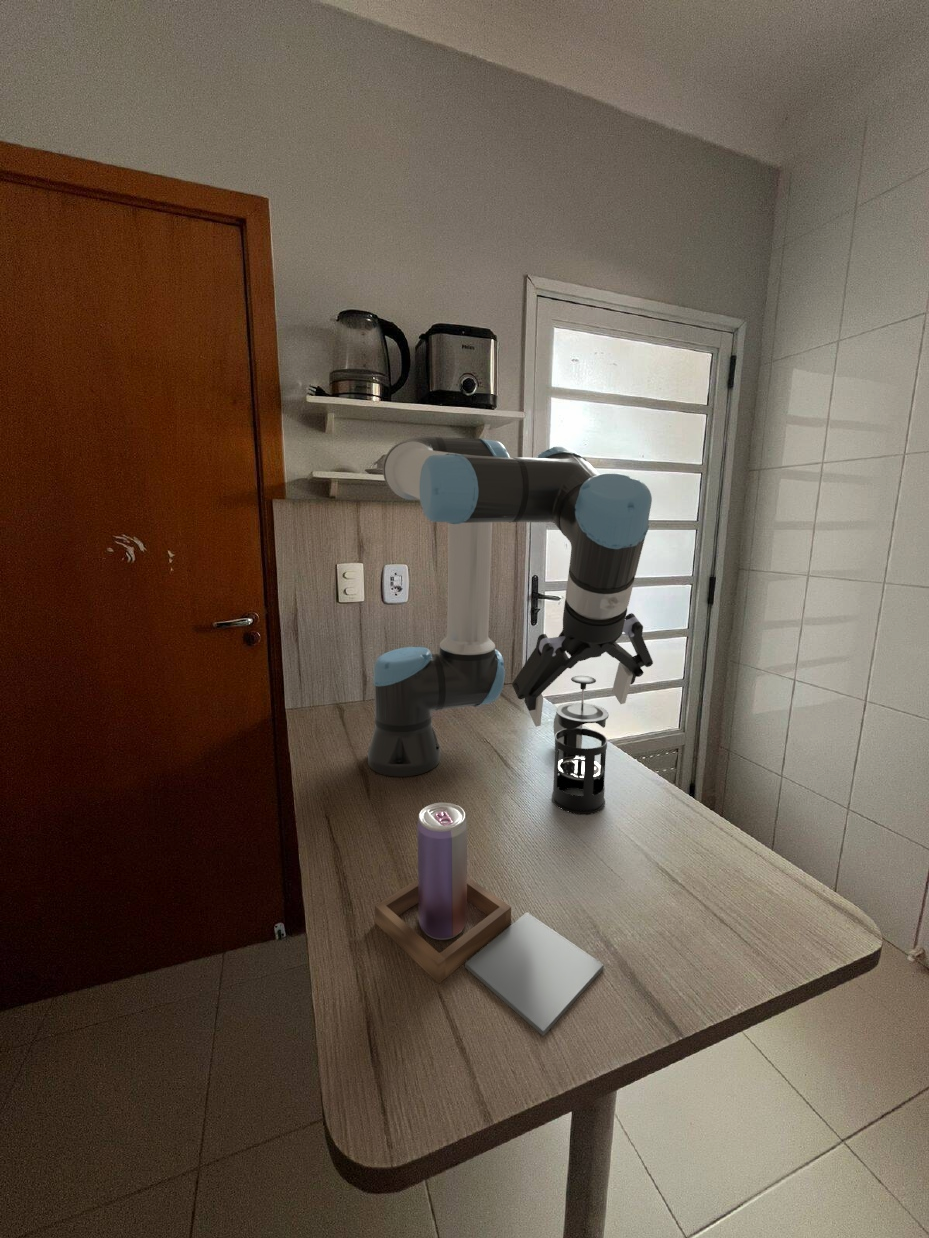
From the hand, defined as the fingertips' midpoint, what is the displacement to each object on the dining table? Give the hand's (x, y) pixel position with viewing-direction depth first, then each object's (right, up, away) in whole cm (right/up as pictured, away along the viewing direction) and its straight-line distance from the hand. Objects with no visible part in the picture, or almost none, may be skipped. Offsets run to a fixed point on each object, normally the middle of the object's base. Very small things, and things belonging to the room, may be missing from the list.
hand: (577, 707), depth 77 cm
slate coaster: (-9, -26, -19) cm, 34 cm away
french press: (+3, -19, +16) cm, 25 cm away
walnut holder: (-20, -25, -13) cm, 34 cm away
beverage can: (-20, -25, -13) cm, 34 cm away
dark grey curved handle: (+5, -16, +34) cm, 38 cm away
